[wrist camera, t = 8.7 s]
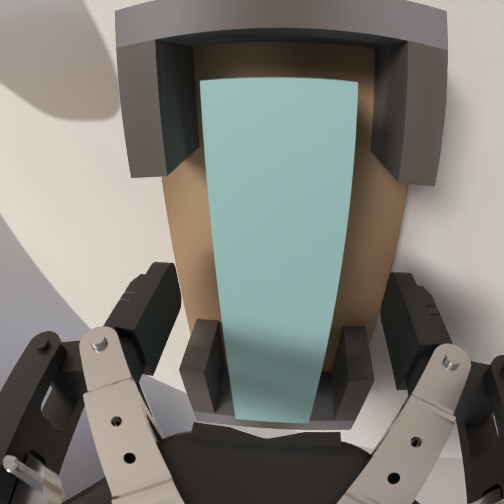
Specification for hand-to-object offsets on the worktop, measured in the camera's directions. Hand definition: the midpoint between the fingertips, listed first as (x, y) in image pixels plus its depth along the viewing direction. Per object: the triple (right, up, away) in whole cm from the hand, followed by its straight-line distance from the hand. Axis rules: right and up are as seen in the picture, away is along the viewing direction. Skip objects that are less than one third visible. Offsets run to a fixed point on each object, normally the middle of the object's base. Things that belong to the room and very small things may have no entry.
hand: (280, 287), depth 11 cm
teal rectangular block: (0, +1, +2) cm, 3 cm away
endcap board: (0, +2, +3) cm, 4 cm away
